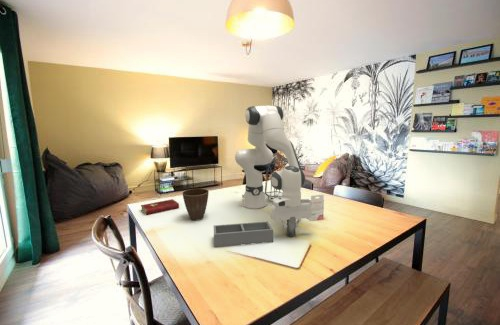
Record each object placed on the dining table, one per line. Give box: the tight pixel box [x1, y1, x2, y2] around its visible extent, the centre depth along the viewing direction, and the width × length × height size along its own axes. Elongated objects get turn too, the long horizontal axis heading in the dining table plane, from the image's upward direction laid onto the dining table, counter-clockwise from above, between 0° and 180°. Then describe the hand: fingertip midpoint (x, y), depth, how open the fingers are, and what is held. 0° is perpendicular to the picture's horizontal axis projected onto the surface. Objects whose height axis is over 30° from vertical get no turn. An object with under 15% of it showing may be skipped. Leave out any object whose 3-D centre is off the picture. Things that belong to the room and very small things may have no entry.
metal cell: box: [285, 217, 297, 238], centre depth 114 cm, size 4×4×11 cm
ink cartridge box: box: [306, 194, 325, 222], centre depth 135 cm, size 9×5×15 cm, turn 105°
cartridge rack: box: [213, 220, 274, 248], centre depth 111 cm, size 10×27×6 cm, turn 100°
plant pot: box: [182, 188, 210, 221], centre depth 137 cm, size 15×15×16 cm
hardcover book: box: [140, 198, 180, 216], centre depth 154 cm, size 12×21×4 cm, turn 128°
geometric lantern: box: [264, 152, 288, 203], centre depth 170 cm, size 16×16×35 cm
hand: (291, 227), depth 115 cm, fingers closed on metal cell, 4 cm apart
